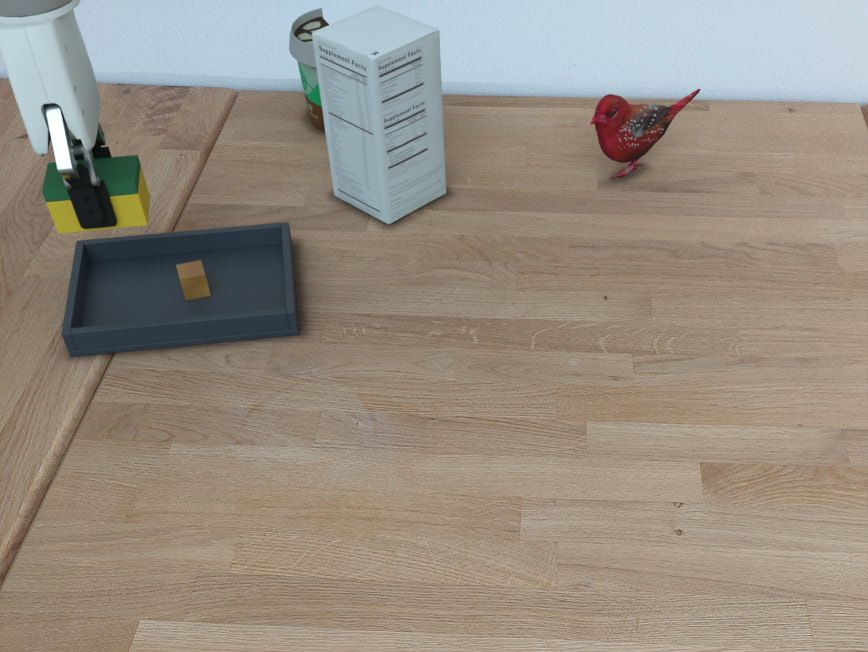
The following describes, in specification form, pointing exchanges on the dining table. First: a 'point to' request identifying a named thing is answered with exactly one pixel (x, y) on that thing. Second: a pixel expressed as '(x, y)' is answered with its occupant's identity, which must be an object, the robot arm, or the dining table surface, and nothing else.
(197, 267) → the small brown block
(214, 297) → the tray
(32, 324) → the dining table surface
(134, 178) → the sponge
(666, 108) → the decorative bird figurine
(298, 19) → the food container
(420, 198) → the supplement box
